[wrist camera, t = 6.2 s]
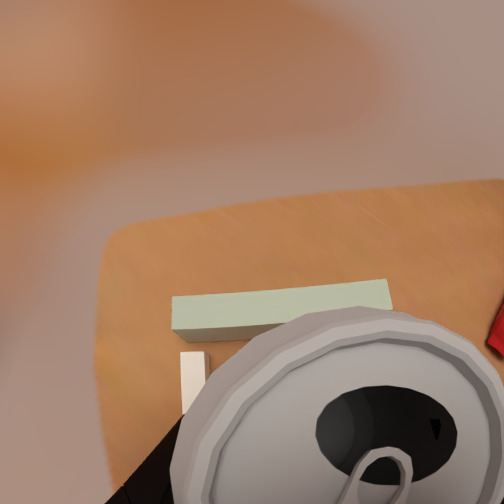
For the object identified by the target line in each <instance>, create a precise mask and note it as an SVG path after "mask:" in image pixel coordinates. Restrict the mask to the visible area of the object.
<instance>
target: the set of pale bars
mask: <svg viewBox="0 0 504 504" xmlns="http://www.w3.org/2000/svg"><path fill="white" fill-rule="evenodd" d="M354 306H364V307H370V308H377V309H383V310H390V311H391V310H393V307H392V302H391V297H390V293H389V288H388V284H387V280H386V279H379V280H370V281H361V282H351V283H342V284H332V285H322V286H312V287H301V288H289V289H278V290H265V291H253V292H239V293H225V294H209V295H193V296H174V297H172V330H173V331H174V332H175V333H176V334H178V335H179V336H180V337H181V338H182V339H184V340H185V341H186V342H187V343H189V342H214V341H233V340H248V339H253V338H254V337H255V336H258V335H260V334H262V333H264V332H267V331H269V330H271V329H274V328H276V327H278V326H280V325H283V324H285V323H287V322H289V321H291V320H293V319H296V318H298V317H300V316H302V315H304V314H306V313H313V312H320V311H327V310H334V309H341V308H348V307H354ZM180 356H181V390H182V412H183V415H184V414H186V412H187V411H188V409H189V408H190V406H191V405H192V403H193V401H194V400H195V398H196V397H197V395H198V394H199V392H200V391H201V389H202V388H203V386H204V385H205V383H206V381H207V380H208V378H209V377H210V362H209V355H208V354H206V353H205V352H180Z"/></svg>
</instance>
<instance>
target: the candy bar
mask: <svg viewBox="0 0 504 504" xmlns="http://www.w3.org/2000/svg"><path fill="white" fill-rule="evenodd" d="M488 344H489V345H491V346H492V347H494V348H496V349H497V350H498V351H499V352H500V353H501V354H502V356H503V357H504V302H503V305H502V307H501V309H500V311H499V313H498V316H497V318H496V320H495V322H494V324H493V327H492V329H491V332H490V338H489V339H488Z"/></svg>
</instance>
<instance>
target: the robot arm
mask: <svg viewBox="0 0 504 504" xmlns="http://www.w3.org/2000/svg"><path fill="white" fill-rule="evenodd" d="M184 415H185V414H184ZM184 415H182V417H181V418H180V419H179V420H178V421H177V423H176V424H175V425H174V426H173V427H172V429H171V430H170V431H169V432H168V433H167V435H166V436H165V437H164V438H163V439H162V440H161V442H160V443H159V444H158V445H157V446H156V448H155V449H154V450H153V451H152V452H151V453H150V454H149V456H148V457H147V458H146V459H145V460H144V461H143V463H142V464H141V465H140V466H139V467H138V468H137V469H136V471H135V472H134V473H133V474H132V475H131V476H130V477H129V478H128V480H127V481H126V482H125V483H124V484H123V486H121V487H120V488H119V489H118V490H117V492H116V493H115V494H114V495H113V496H112V497H111V498H110V499H109V500H108V501H107V502H106V503H105V504H174V499H173V492H172V485H171V477H170V465H171V461H172V457H173V453H174V449H175V445H176V441H177V436H178V432H179V428H180V424H181V420H182V418H183V417H184ZM429 420H430V423H431V427H432V430H433V433H434V436H435V439H436V440H438V436H439V432H440V428H441V424H440V419H429ZM500 504H504V497H503V499H502V501H501V503H500Z"/></svg>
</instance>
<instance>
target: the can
mask: <svg viewBox="0 0 504 504" xmlns="http://www.w3.org/2000/svg"><path fill="white" fill-rule="evenodd" d="M429 419H440V424H441V428H440V432H439V436H438V440H436V439H435V436H434V433H433V430H432V427H431V423H430V420H429ZM170 477H171V485H172V492H173V499H174V504H500V503H501V501H502V499H503V497H504V386H503V383H502V381H501V378H500V376H499V374H498V372H497V370H496V369H495V368H494V367H493V366H492V365H491V363H490V362H489V361H488V360H487V359H486V358H485V357H484V356H483V354H482V353H481V352H480V351H479V350H478V349H477V348H476V347H475V346H474V344H473V343H472V342H471V341H469V340H467V339H466V338H464V337H462V336H460V335H458V334H456V333H454V332H452V331H450V330H448V329H447V328H445V327H443V326H441V325H439V324H437V323H435V322H433V321H429V320H422V319H417V318H415V317H413V316H411V315H409V314H407V313H403V312H396V311H390V310H383V309H377V308H370V307H364V306H354V307H348V308H341V309H334V310H327V311H320V312H313V313H306V314H304V315H302V316H300V317H298V318H296V319H293V320H291V321H289V322H287V323H285V324H283V325H280V326H278V327H276V328H274V329H271V330H269V331H267V332H264V333H262V334H260V335H258V336H255V337H254V338H253V339H252V340H251V341H250V342H248V343H247V344H246V345H245V346H244V347H243V348H241V349H240V350H239V351H238V352H237V353H236V354H234V355H233V356H232V357H231V358H230V359H228V360H227V361H226V362H225V363H224V364H222V365H221V366H220V367H219V368H217V369H216V370H215V371H214V372H213V373H212V374H211V375H210V377H209V378H208V380H207V381H206V383H205V385H204V386H203V388H202V389H201V391H200V392H199V394H198V395H197V397H196V398H195V400H194V401H193V403H192V405H191V406H190V408H189V409H188V411H187V412H186V414H185V415H184V417H183V418H182V420H181V424H180V428H179V432H178V436H177V441H176V445H175V449H174V453H173V457H172V461H171V465H170Z"/></svg>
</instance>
